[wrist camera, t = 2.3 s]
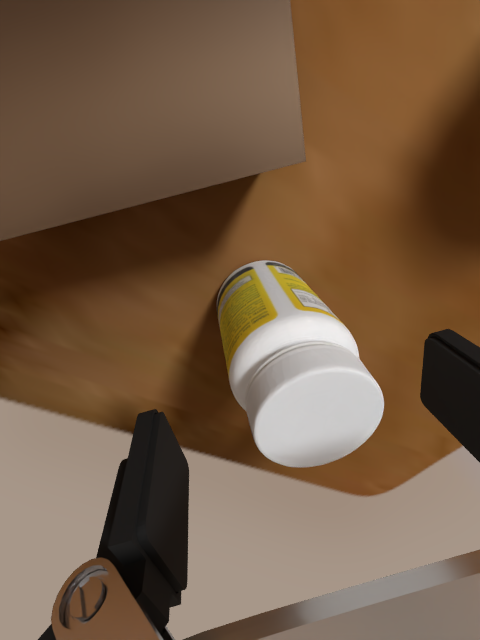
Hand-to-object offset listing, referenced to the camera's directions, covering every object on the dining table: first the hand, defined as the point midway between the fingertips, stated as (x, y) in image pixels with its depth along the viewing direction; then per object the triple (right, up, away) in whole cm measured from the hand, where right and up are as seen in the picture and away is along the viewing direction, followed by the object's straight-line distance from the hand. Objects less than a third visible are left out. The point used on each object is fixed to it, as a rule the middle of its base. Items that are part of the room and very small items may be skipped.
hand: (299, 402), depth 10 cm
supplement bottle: (-1, +4, +6) cm, 7 cm away
